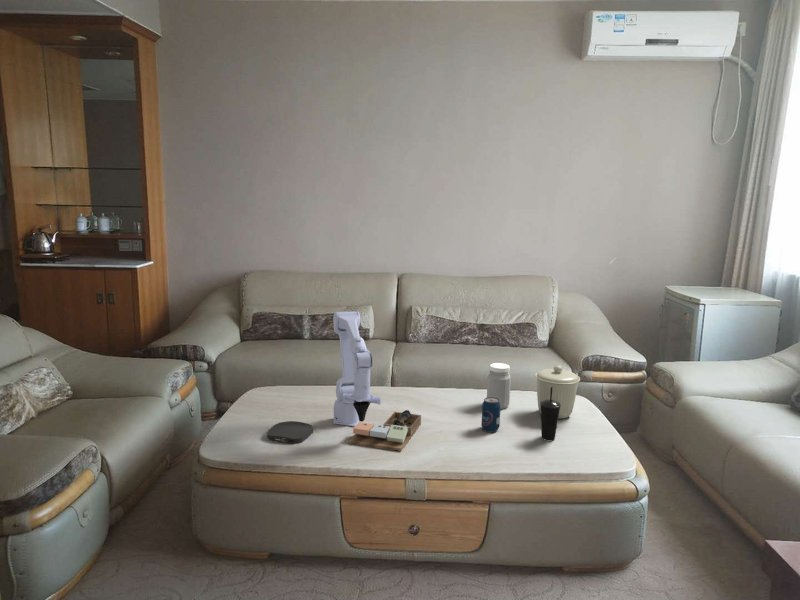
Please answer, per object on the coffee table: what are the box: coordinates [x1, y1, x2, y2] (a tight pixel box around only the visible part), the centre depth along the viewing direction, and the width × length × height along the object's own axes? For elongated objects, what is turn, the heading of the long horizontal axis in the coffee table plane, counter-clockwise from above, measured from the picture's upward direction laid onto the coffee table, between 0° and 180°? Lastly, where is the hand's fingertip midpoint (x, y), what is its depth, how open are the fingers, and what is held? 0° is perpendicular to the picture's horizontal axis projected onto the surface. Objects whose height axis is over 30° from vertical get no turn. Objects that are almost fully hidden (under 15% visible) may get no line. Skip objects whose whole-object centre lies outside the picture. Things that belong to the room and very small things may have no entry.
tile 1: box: [352, 421, 375, 436], centre depth 221 cm, size 6×6×2 cm
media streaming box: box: [266, 420, 314, 445], centre depth 224 cm, size 15×15×3 cm
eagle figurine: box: [391, 409, 412, 427], centre depth 232 cm, size 8×7×9 cm
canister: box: [534, 365, 581, 420], centre depth 247 cm, size 18×18×21 cm
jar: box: [486, 362, 512, 410], centre depth 256 cm, size 10×10×18 cm
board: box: [348, 411, 422, 452], centre depth 226 cm, size 20×26×4 cm
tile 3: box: [387, 424, 408, 443], centre depth 217 cm, size 6×6×2 cm
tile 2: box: [370, 424, 390, 438], centre depth 219 cm, size 6×6×2 cm
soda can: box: [480, 397, 501, 433], centre depth 231 cm, size 7×7×12 cm
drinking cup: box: [540, 387, 561, 441], centre depth 223 cm, size 8×8×20 cm
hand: (361, 420), depth 218 cm, fingers closed
